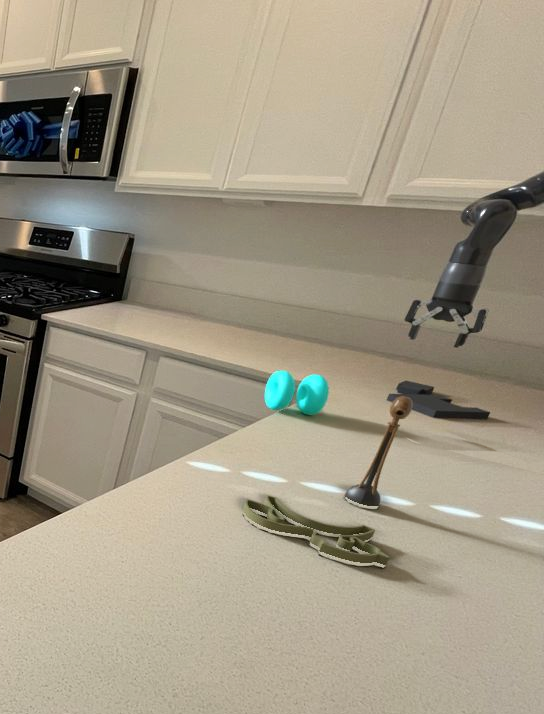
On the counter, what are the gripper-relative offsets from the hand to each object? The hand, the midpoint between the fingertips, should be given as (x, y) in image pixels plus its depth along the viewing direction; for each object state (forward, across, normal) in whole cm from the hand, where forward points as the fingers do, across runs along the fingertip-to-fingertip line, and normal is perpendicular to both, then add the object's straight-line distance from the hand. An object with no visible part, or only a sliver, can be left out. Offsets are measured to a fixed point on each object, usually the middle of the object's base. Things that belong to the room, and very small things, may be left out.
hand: (433, 343), depth 154 cm
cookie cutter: (+16, -14, +109) cm, 111 cm away
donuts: (+16, +12, +45) cm, 49 cm away
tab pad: (+16, 0, -1) cm, 16 cm away
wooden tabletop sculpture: (+16, -14, +89) cm, 91 cm away
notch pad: (+16, -7, +12) cm, 21 cm away
